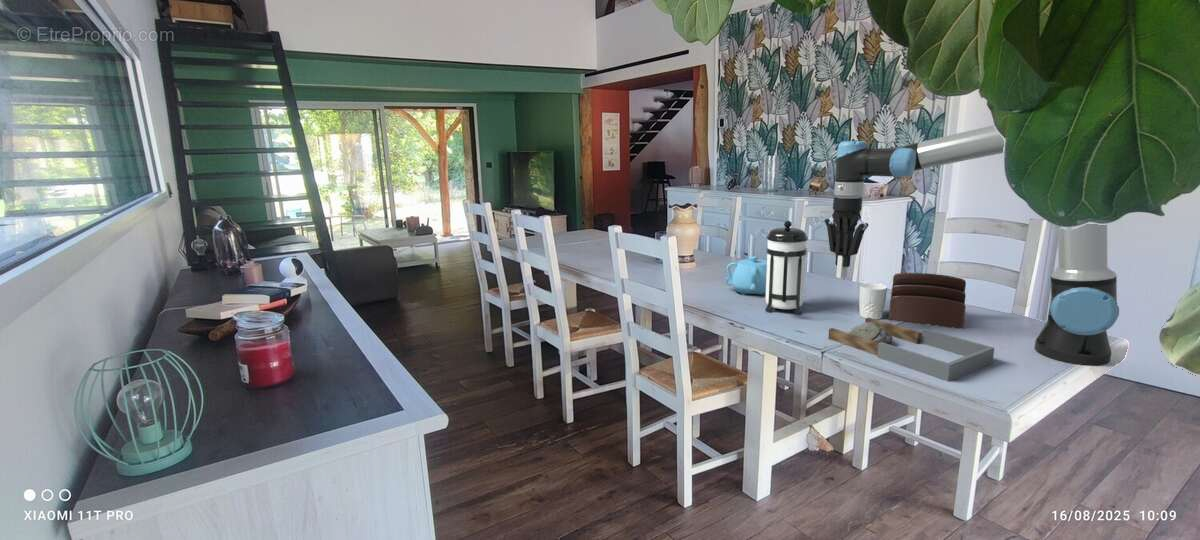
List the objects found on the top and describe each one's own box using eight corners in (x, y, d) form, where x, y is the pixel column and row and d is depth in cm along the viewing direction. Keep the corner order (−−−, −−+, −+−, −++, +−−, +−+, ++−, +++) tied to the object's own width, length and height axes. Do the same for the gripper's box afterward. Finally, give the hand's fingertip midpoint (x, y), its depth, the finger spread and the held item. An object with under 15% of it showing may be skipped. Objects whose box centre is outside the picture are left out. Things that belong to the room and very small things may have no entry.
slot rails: (920, 342, 156) (921, 332, 156) (879, 356, 148) (880, 345, 147) (867, 327, 170) (868, 317, 169) (828, 338, 161) (828, 328, 160)
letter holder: (889, 311, 184) (893, 270, 181) (961, 320, 174) (966, 276, 171) (888, 320, 176) (892, 277, 172) (963, 329, 166) (968, 283, 163)
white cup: (878, 312, 183) (881, 282, 181) (888, 320, 175) (891, 289, 173) (853, 312, 184) (856, 283, 182) (862, 320, 176) (864, 289, 174)
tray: (992, 362, 142) (994, 347, 141) (947, 381, 132) (949, 365, 131) (922, 341, 157) (923, 328, 156) (877, 357, 147) (878, 342, 146)
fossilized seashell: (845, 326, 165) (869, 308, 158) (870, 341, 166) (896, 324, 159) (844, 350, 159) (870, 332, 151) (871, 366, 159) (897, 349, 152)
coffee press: (749, 306, 193) (751, 220, 186) (786, 300, 199) (790, 216, 192) (782, 320, 178) (787, 227, 171) (822, 313, 183) (828, 222, 177)
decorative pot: (755, 284, 222) (756, 250, 219) (784, 293, 208) (785, 257, 205) (721, 290, 216) (722, 255, 213) (748, 299, 201) (750, 262, 198)
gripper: (819, 195, 163) (814, 274, 169) (860, 199, 152) (852, 283, 158) (837, 194, 167) (831, 271, 172) (877, 197, 156) (869, 279, 161)
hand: (841, 277), depth 165 cm, fingers closed
